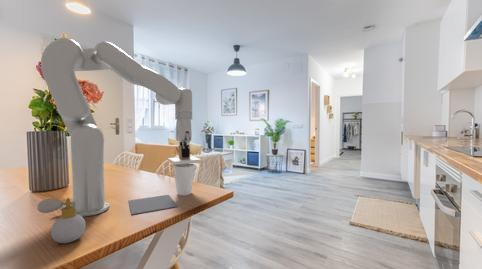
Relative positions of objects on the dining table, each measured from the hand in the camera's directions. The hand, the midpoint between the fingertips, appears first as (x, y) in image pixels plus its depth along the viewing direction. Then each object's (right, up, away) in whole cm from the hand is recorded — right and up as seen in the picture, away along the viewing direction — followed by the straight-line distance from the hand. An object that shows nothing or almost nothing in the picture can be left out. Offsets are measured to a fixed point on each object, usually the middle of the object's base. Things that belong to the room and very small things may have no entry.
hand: (184, 156), depth 103 cm
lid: (0, -2, 0) cm, 2 cm away
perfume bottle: (-21, -19, -43) cm, 51 cm away
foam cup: (0, -17, +1) cm, 17 cm away
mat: (-9, -18, -14) cm, 24 cm away
